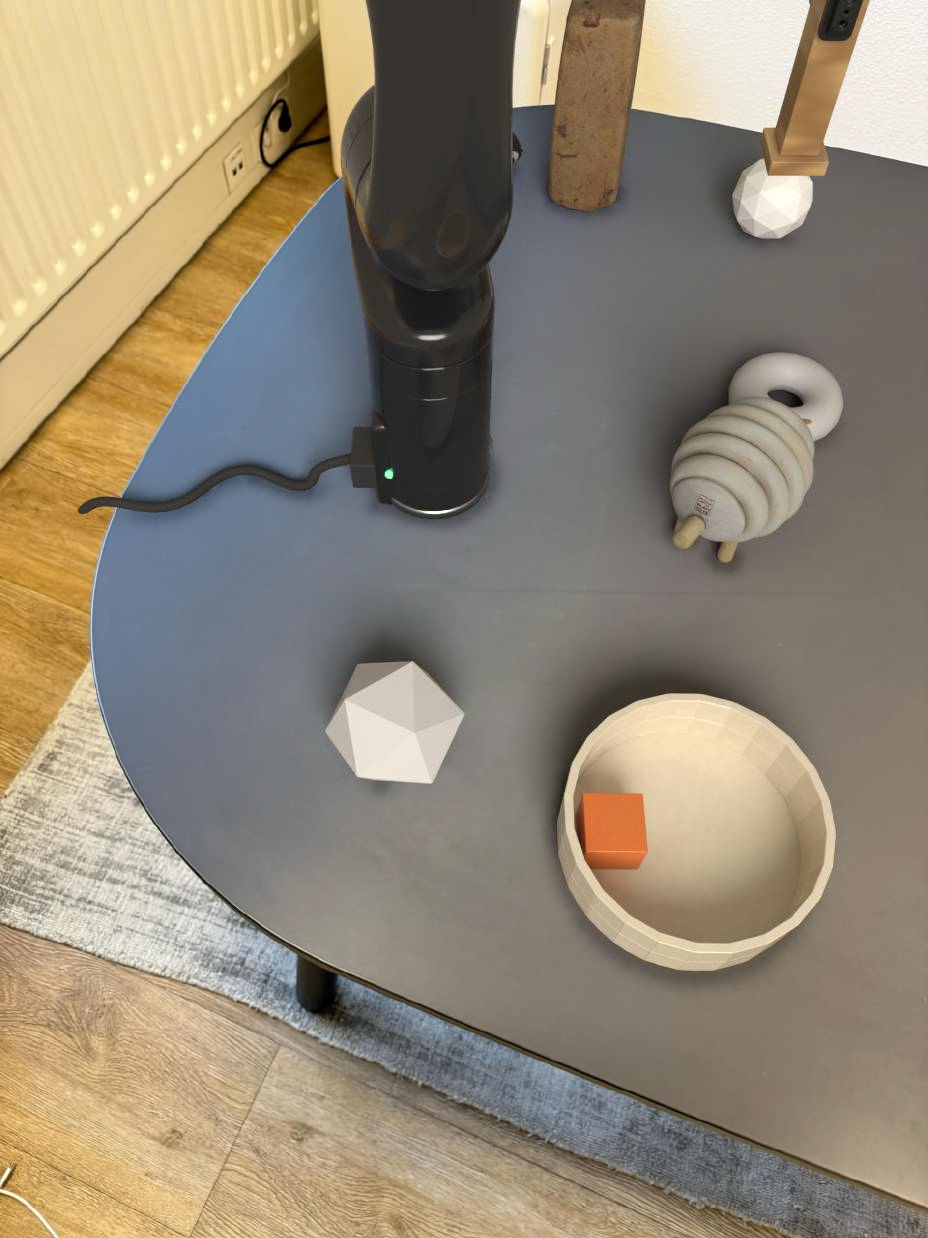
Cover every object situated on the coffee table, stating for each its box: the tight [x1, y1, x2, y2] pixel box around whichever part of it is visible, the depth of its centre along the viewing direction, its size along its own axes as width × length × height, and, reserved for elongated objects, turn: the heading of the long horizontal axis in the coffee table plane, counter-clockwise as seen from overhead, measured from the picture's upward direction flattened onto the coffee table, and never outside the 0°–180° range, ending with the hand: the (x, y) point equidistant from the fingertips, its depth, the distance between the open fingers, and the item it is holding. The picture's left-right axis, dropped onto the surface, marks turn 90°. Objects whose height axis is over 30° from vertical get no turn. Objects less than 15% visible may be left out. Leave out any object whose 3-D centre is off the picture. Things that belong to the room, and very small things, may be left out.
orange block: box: [576, 793, 648, 870], centre depth 65 cm, size 4×4×4 cm
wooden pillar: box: [759, 0, 871, 177], centre depth 70 cm, size 4×4×15 cm
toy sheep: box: [669, 396, 816, 563], centre depth 76 cm, size 11×17×11 cm, turn 147°
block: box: [548, 0, 647, 212], centre depth 95 cm, size 11×8×20 cm
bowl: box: [556, 692, 837, 972], centre depth 65 cm, size 17×17×6 cm
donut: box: [728, 351, 844, 442], centre depth 86 cm, size 10×4×10 cm
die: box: [324, 660, 466, 785], centre depth 67 cm, size 8×9×10 cm
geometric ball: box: [731, 157, 814, 240], centre depth 97 cm, size 8×8×8 cm
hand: (828, 22), depth 67 cm, fingers closed on wooden pillar, 3 cm apart
